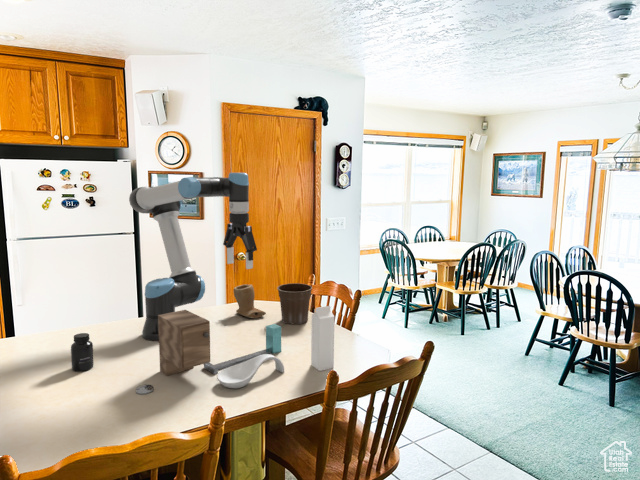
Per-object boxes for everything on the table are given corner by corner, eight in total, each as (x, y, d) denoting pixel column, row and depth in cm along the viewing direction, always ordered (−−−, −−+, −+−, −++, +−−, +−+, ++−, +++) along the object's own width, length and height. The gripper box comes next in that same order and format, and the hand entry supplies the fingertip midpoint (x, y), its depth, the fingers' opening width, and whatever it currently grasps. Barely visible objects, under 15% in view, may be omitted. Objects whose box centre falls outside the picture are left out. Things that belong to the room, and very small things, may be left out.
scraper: (203, 367, 162) (203, 340, 161) (272, 347, 182) (272, 323, 181) (214, 374, 157) (213, 346, 156) (283, 352, 177) (283, 327, 176)
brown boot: (229, 313, 226) (229, 284, 224) (251, 309, 233) (250, 280, 231) (244, 321, 214) (244, 290, 212) (266, 317, 221) (266, 286, 219)
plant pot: (291, 328, 205) (291, 293, 203) (270, 320, 217) (270, 286, 215) (318, 321, 216) (319, 287, 214) (297, 313, 228) (297, 281, 226)
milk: (333, 368, 164) (335, 307, 161) (318, 371, 161) (320, 310, 158) (325, 361, 169) (326, 303, 166) (310, 364, 166) (311, 305, 163)
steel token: (133, 391, 145) (133, 387, 145) (149, 386, 148) (149, 383, 148) (139, 397, 141) (139, 393, 141) (155, 392, 145) (155, 388, 144)
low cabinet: (160, 371, 159) (157, 315, 156) (186, 363, 166) (185, 309, 163) (185, 389, 146) (183, 328, 143) (213, 380, 152) (212, 322, 150)
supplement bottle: (84, 373, 157) (82, 339, 155) (67, 371, 158) (65, 337, 157) (98, 365, 164) (96, 332, 162) (81, 363, 165) (79, 331, 163)
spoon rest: (228, 397, 142) (228, 374, 141) (210, 383, 151) (210, 362, 150) (290, 376, 157) (290, 356, 156) (271, 365, 166) (271, 346, 165)
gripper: (214, 210, 186) (215, 262, 189) (249, 215, 168) (249, 272, 171) (230, 210, 191) (231, 260, 194) (265, 214, 173) (266, 269, 176)
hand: (239, 266), depth 183 cm, fingers open, 13 cm apart
